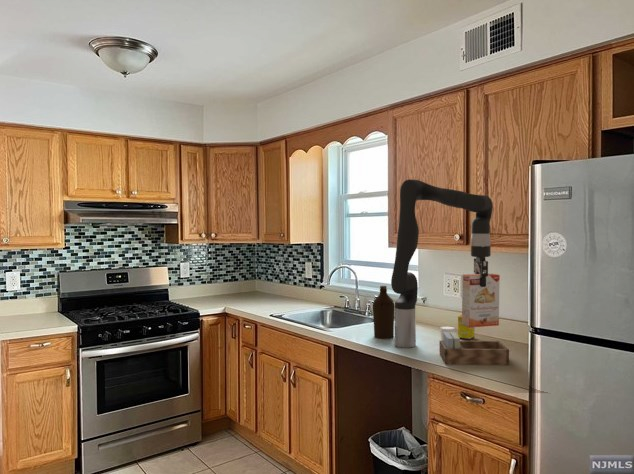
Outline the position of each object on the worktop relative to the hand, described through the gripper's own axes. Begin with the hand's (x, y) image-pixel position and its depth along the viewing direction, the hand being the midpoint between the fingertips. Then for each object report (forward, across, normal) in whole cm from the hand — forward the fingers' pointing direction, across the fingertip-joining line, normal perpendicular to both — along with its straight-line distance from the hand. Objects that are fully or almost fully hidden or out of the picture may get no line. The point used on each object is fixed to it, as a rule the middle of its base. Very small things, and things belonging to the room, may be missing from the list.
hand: (480, 285), depth 200 cm
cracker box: (+17, 0, 0) cm, 17 cm away
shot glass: (+31, -28, -8) cm, 42 cm away
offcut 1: (+30, 0, -13) cm, 33 cm away
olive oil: (+31, -39, -37) cm, 62 cm away
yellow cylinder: (+31, -36, +2) cm, 47 cm away
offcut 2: (+30, 0, -10) cm, 32 cm away
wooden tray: (+30, 0, -3) cm, 31 cm away
